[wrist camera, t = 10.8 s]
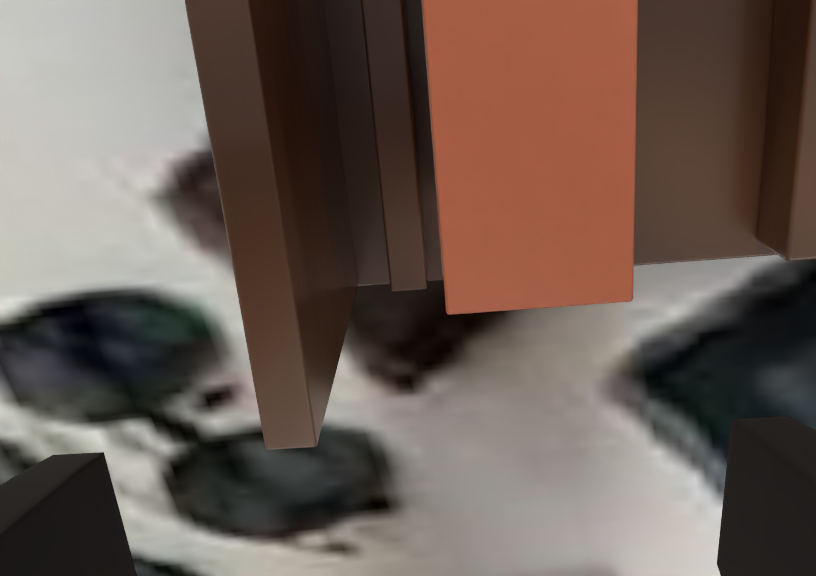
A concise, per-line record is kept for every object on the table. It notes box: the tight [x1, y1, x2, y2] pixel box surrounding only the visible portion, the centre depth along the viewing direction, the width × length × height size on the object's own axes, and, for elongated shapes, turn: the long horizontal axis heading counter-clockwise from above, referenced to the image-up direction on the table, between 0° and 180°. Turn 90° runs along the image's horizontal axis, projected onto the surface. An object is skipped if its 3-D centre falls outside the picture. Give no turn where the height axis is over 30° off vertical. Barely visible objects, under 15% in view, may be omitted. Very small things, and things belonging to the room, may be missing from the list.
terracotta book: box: [421, 0, 638, 315], centre depth 13 cm, size 6×3×7 cm, turn 5°
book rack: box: [185, 0, 816, 450], centre depth 13 cm, size 10×17×8 cm, turn 95°
